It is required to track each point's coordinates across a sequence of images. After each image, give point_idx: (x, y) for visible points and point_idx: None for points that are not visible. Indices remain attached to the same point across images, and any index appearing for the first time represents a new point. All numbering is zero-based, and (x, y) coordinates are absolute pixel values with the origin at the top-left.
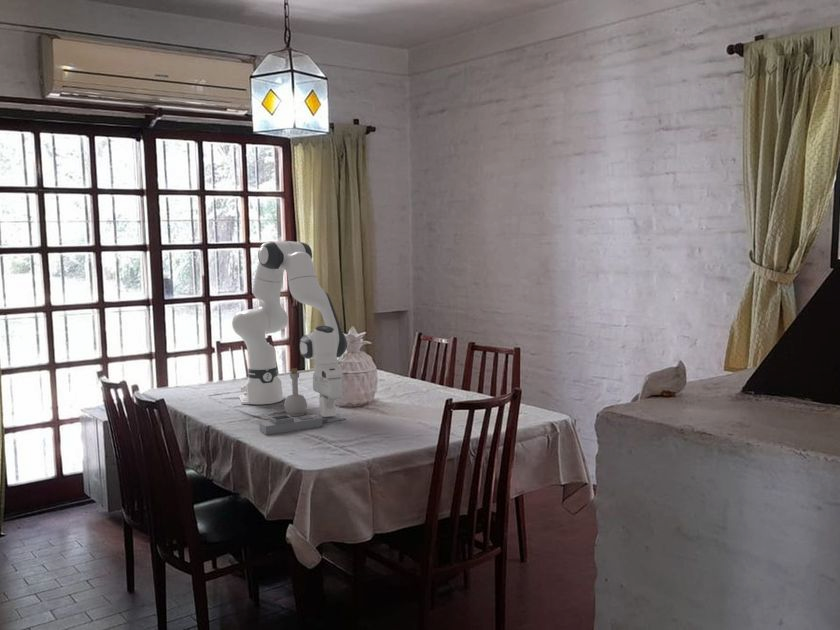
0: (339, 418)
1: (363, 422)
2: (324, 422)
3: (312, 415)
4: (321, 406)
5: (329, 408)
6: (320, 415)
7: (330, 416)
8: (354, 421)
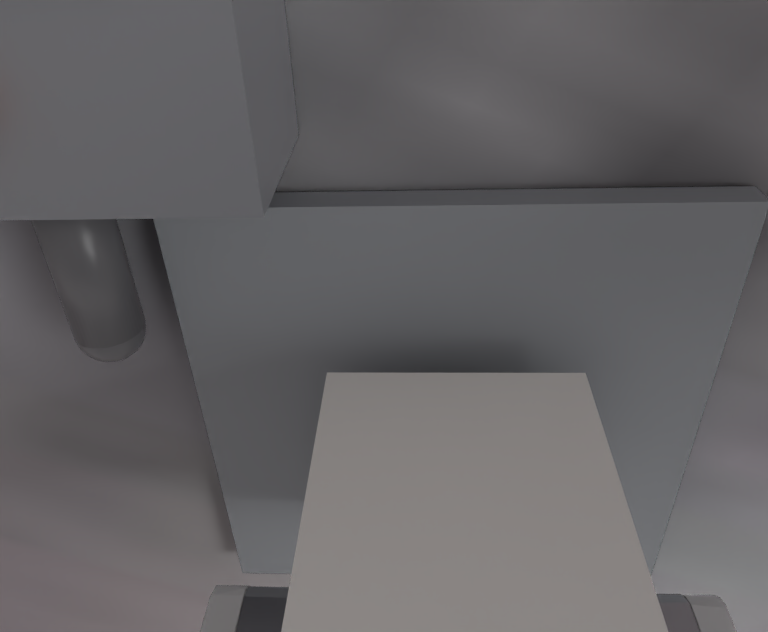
0: (265, 518)
1: (16, 625)
2: (180, 275)
3: (164, 108)
4: (496, 540)
5: (216, 588)
6: (690, 387)
7: None
8: (106, 585)
